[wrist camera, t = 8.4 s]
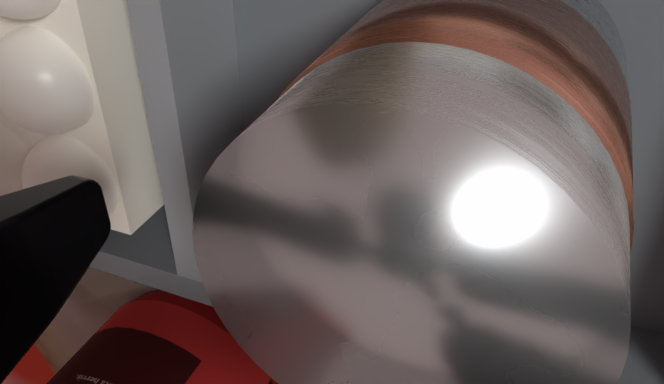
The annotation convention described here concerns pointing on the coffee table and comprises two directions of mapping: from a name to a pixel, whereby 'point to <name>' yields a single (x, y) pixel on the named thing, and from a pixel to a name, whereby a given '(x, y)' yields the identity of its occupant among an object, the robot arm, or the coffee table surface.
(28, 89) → the egg carton
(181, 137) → the tote
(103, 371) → the canned food
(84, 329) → the coffee table surface
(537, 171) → the steel tin
